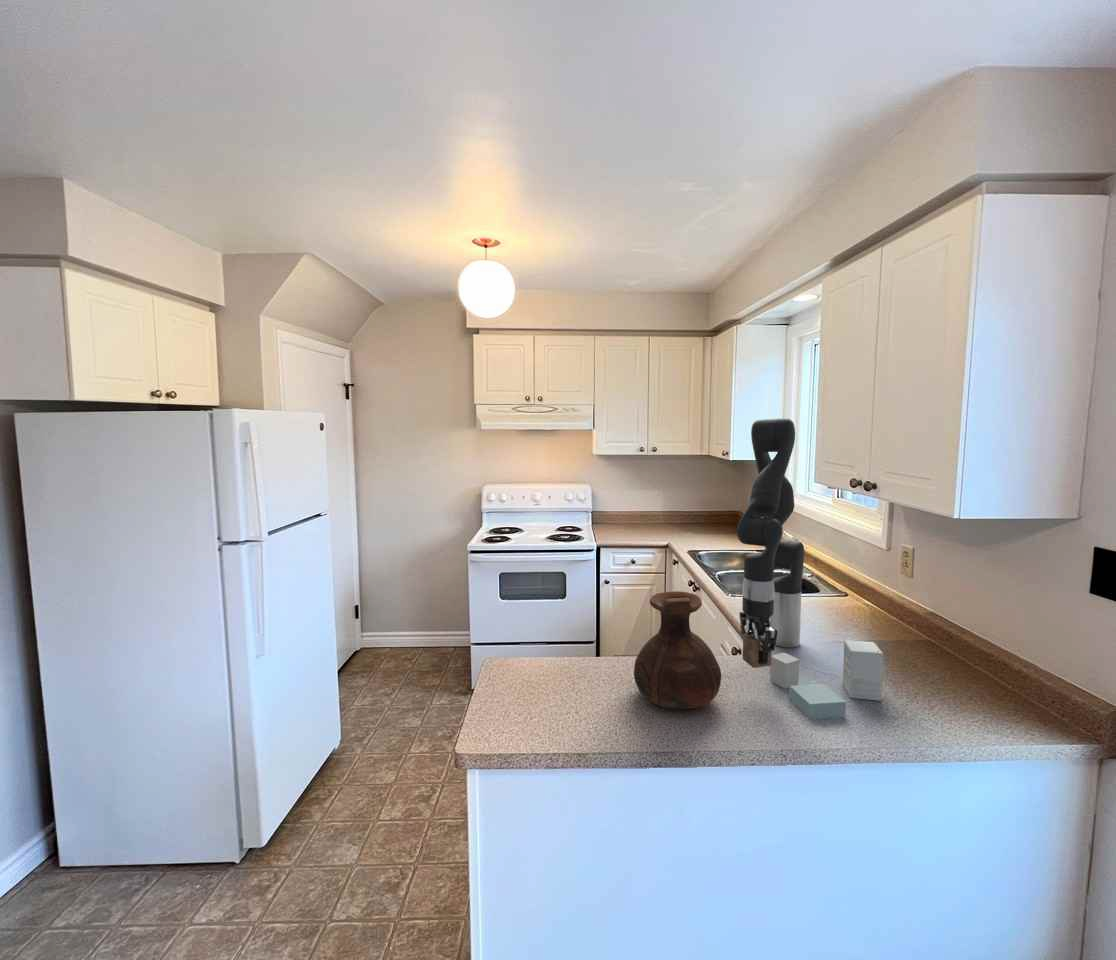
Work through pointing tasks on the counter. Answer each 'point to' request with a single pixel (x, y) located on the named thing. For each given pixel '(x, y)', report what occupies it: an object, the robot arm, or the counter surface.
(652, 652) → the brown vase
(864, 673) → the supplement box
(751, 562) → the robot arm
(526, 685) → the counter surface
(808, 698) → the pedestal block
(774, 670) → the grey block
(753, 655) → the walnut block
